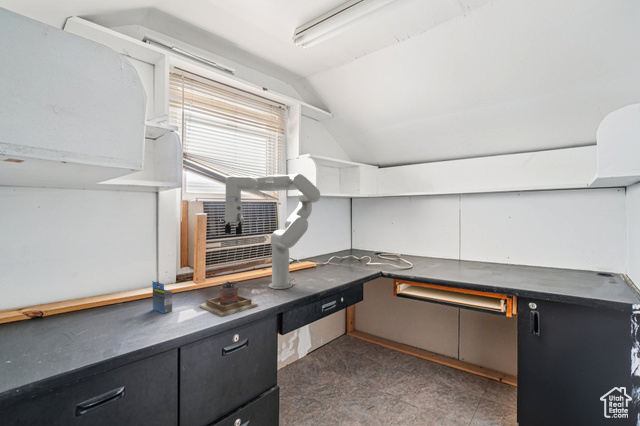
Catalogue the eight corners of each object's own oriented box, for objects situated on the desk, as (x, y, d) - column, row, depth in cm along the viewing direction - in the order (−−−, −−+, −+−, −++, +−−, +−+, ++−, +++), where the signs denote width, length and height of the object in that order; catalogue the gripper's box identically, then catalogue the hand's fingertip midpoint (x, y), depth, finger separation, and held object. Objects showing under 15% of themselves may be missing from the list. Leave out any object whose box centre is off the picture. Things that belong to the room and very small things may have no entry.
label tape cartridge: (172, 311, 129) (172, 282, 129) (163, 313, 126) (163, 284, 125) (160, 307, 134) (160, 279, 133) (152, 309, 130) (151, 281, 130)
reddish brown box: (220, 306, 132) (220, 283, 132) (219, 304, 135) (219, 281, 135) (239, 303, 136) (239, 281, 136) (237, 301, 139) (237, 279, 139)
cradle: (235, 297, 148) (235, 291, 148) (257, 306, 136) (257, 299, 136) (199, 306, 135) (199, 299, 135) (221, 316, 123) (221, 309, 123)
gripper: (249, 200, 153) (249, 234, 153) (230, 200, 164) (230, 232, 164) (236, 200, 147) (236, 235, 147) (217, 200, 158) (217, 233, 159)
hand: (233, 233), depth 156 cm, fingers open, 9 cm apart
